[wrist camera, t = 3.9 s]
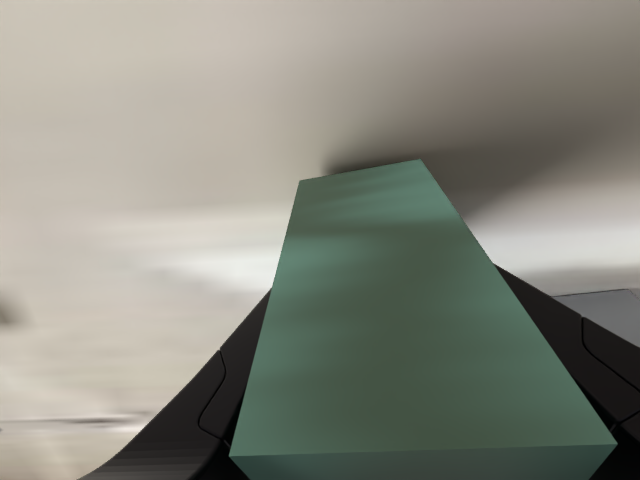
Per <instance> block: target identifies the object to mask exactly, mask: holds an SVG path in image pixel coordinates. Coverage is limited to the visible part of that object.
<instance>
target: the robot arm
mask: <svg viewBox="0 0 640 480" xmlns="http://www.w3.org/2000/svg"><path fill="white" fill-rule="evenodd" d="M493 264H494V263H493ZM494 266H495V267H496V269H497V270H498V272H499V273H500V274H501V276H502V277H503V279H504V280H505V282H506V283H507V285H508V286H509V287H510V289H511V290H512V292H513V293H514V295H515V296H516V297H517V299H518V300H519V302H520V303H521V305H522V306H523V308H524V309H525V310H526V312H527V313H528V315H529V316H530V318H531V319H532V321H533V322H534V323H535V325H536V326H537V328H538V329H539V331H540V332H541V334H542V335H543V336H544V338H545V339H546V341H547V342H548V344H549V345H550V347H551V348H552V349H553V351H554V352H555V354H556V355H557V357H558V358H559V360H560V361H561V362H562V364H563V365H564V367H565V368H566V370H567V371H568V373H569V374H570V375H571V377H572V378H573V380H574V381H575V383H576V384H577V386H578V387H579V388H580V390H581V391H582V393H583V394H584V396H585V397H586V399H587V400H588V401H589V403H590V404H591V406H592V407H593V409H594V410H595V412H596V413H597V414H598V416H599V417H600V419H601V420H602V422H603V423H604V425H605V426H606V427H607V429H608V430H609V432H610V433H611V435H612V436H613V438H614V439H615V440H616V442H617V443H618V445H617V446H616V447H615V448H614V449H613V451H612V452H611V453H610V454H609V455H608V457H607V458H606V459H605V460H604V462H603V463H602V464H601V465H600V466H599V468H598V469H597V470H596V471H595V472H594V474H593V475H592V476H591V477H590V478H589V480H640V347H639V346H637V345H635V344H633V343H631V342H629V341H627V340H626V339H624V338H622V337H620V336H619V335H617V334H615V333H613V332H611V331H610V330H608V329H606V328H604V327H602V326H601V325H599V324H597V323H596V322H594V321H592V320H590V319H589V318H587V317H582V315H581V314H580V313H578V312H576V311H575V310H573V309H571V308H569V307H568V306H566V305H564V304H563V303H561V302H559V301H557V300H556V299H554V298H552V297H551V296H549V295H547V294H545V293H544V292H542V291H540V290H539V289H537V288H535V287H533V286H532V285H530V284H528V283H526V282H525V281H523V280H521V279H520V278H518V277H516V276H514V275H513V274H511V273H509V272H508V271H506V270H504V269H502V268H501V267H499V266H497V265H495V264H494ZM271 290H272V288H271V289H270V290H269V291H268V293H267V294H266V295H265V296H264V297H263V298H262V300H261V301H260V302H259V303H258V304H257V305H256V306H255V308H254V309H253V310H252V311H251V312H250V313H249V315H248V316H247V317H246V318H245V319H244V320H243V322H242V323H241V324H240V325H239V326H238V327H237V329H236V330H235V331H234V332H233V333H232V334H231V336H230V337H229V338H228V339H227V340H226V341H225V343H224V344H223V345H222V346H221V347H220V350H218V351H217V352H216V353H215V354H214V355H213V356H212V357H211V359H210V360H209V361H208V362H207V363H206V364H205V365H204V367H203V368H202V369H201V370H200V371H199V372H198V373H197V374H196V375H195V377H194V378H193V379H192V380H191V381H190V382H189V383H188V384H187V385H186V386H185V387H184V388H183V389H182V390H181V391H180V392H179V393H178V394H177V395H176V396H175V397H174V398H173V399H172V400H171V401H170V402H169V403H168V404H167V405H166V406H165V407H164V408H163V409H162V410H161V411H160V412H159V413H158V414H157V415H156V416H155V417H154V418H153V419H152V420H151V421H150V422H149V423H148V424H147V425H146V426H145V427H144V428H143V429H142V430H141V431H140V432H139V433H138V434H137V435H136V436H135V437H134V438H133V439H132V440H131V441H130V442H129V443H128V444H127V445H126V446H125V447H124V448H123V449H122V450H121V451H120V452H118V453H117V454H116V455H115V456H114V457H112V458H111V459H110V460H108V461H107V462H106V463H104V464H103V465H102V466H100V467H99V468H97V469H95V470H94V471H92V472H90V473H89V474H87V475H85V476H83V477H81V478H79V479H77V480H250V479H249V478H248V476H247V475H246V474H245V473H244V472H243V471H242V470H241V469H240V468H239V467H238V466H237V465H236V464H235V463H234V461H233V460H232V459H231V458H230V457H229V453H230V449H231V446H232V442H233V438H234V434H235V430H236V426H237V422H238V418H239V414H240V411H241V407H242V403H243V399H244V395H245V391H246V387H247V383H248V379H249V376H250V372H251V368H252V364H253V360H254V356H255V352H256V348H257V344H258V341H259V337H260V333H261V329H262V325H263V321H264V317H265V313H266V310H267V306H268V302H269V298H270V294H271Z"/></svg>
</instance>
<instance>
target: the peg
mask: <svg viewBox="0 0 640 480" xmlns="http://www.w3.org/2000/svg"><path fill="white" fill-rule="evenodd" d="M617 445H618V443H617V442H616V440H615V439H614V438H613V436H612V435H611V433H610V432H609V430H608V429H607V427H606V426H605V425H604V423H603V422H602V420H601V419H600V417H599V416H598V414H597V413H596V412H595V410H594V409H593V407H592V406H591V404H590V403H589V401H588V400H587V399H586V397H585V396H584V394H583V393H582V391H581V390H580V388H579V387H578V386H577V384H576V383H575V381H574V380H573V378H572V377H571V375H570V374H569V373H568V371H567V370H566V368H565V367H564V365H563V364H562V362H561V361H560V360H559V358H558V357H557V355H556V354H555V352H554V351H553V349H552V348H551V347H550V345H549V344H548V342H547V341H546V339H545V338H544V336H543V335H542V334H541V332H540V331H539V329H538V328H537V326H536V325H535V323H534V322H533V321H532V319H531V318H530V316H529V315H528V313H527V312H526V310H525V309H524V308H523V306H522V305H521V303H520V302H519V300H518V299H517V297H516V296H515V295H514V293H513V292H512V290H511V289H510V287H509V286H508V285H507V283H506V282H505V280H504V279H503V277H502V276H501V274H500V273H499V272H498V270H497V269H496V267H495V266H494V264H493V263H492V261H491V260H490V259H489V257H488V256H487V254H486V253H485V251H484V250H483V248H482V247H481V246H480V244H479V243H478V241H477V240H476V238H475V237H474V235H473V234H472V233H471V231H470V230H469V228H468V227H467V225H466V224H465V222H464V221H463V220H462V218H461V217H460V215H459V214H458V212H457V211H456V209H455V208H454V207H453V205H452V204H451V202H450V201H449V199H448V198H447V196H446V195H445V194H444V192H443V191H442V189H441V188H440V186H439V185H438V183H437V182H436V181H435V179H434V178H433V176H432V175H431V173H430V172H429V170H428V169H427V168H426V166H425V165H424V163H423V162H422V160H421V159H417V160H411V161H406V162H400V163H395V164H389V165H384V166H378V167H373V168H367V169H362V170H356V171H350V172H345V173H339V174H334V175H328V176H323V177H317V178H312V179H306V180H301V181H299V185H298V189H297V193H296V197H295V201H294V205H293V208H292V212H291V216H290V220H289V224H288V228H287V232H286V236H285V240H284V243H283V247H282V251H281V255H280V259H279V263H278V267H277V271H276V275H275V278H274V282H273V286H272V290H271V294H270V298H269V302H268V306H267V310H266V313H265V317H264V321H263V325H262V329H261V333H260V337H259V341H258V344H257V348H256V352H255V356H254V360H253V364H252V368H251V372H250V376H249V379H248V383H247V387H246V391H245V395H244V399H243V403H242V407H241V411H240V414H239V418H238V422H237V426H236V430H235V434H234V438H233V442H232V446H231V449H230V453H229V457H230V458H231V459H232V460H233V461H234V463H235V464H236V465H237V466H238V467H239V468H240V469H241V470H242V471H243V472H244V473H245V474H246V475H247V476H248V478H249V479H250V480H589V478H590V477H591V476H592V475H593V474H594V472H595V471H596V470H597V469H598V468H599V466H600V465H601V464H602V463H603V462H604V460H605V459H606V458H607V457H608V455H609V454H610V453H611V452H612V451H613V449H614V448H615V447H616V446H617Z"/></svg>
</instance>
